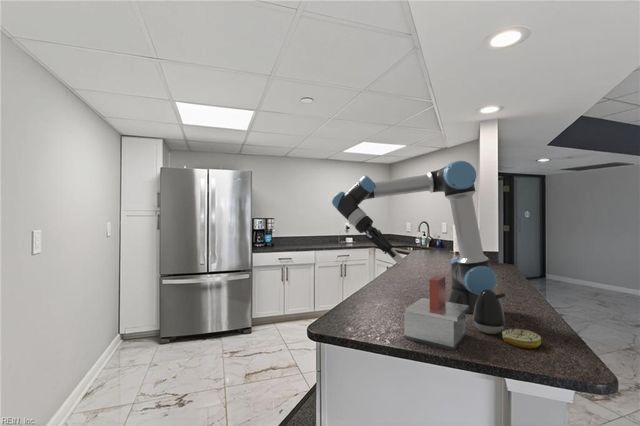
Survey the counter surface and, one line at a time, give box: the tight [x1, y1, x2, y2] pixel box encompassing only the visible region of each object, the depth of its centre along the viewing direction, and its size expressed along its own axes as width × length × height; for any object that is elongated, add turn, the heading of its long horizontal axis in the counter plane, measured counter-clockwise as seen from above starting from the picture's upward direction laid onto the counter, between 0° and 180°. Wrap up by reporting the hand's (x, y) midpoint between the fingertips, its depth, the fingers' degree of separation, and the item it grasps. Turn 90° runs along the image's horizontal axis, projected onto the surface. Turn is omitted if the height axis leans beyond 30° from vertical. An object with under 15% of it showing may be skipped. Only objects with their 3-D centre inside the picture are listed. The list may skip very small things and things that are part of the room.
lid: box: [404, 275, 469, 322], centre depth 107 cm, size 17×17×11 cm
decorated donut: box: [501, 328, 542, 350], centre depth 101 cm, size 10×11×4 cm
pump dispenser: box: [472, 289, 506, 335], centre depth 111 cm, size 10×10×15 cm
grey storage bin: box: [403, 311, 467, 351], centre depth 107 cm, size 16×16×9 cm
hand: (401, 262), depth 123 cm, fingers closed
